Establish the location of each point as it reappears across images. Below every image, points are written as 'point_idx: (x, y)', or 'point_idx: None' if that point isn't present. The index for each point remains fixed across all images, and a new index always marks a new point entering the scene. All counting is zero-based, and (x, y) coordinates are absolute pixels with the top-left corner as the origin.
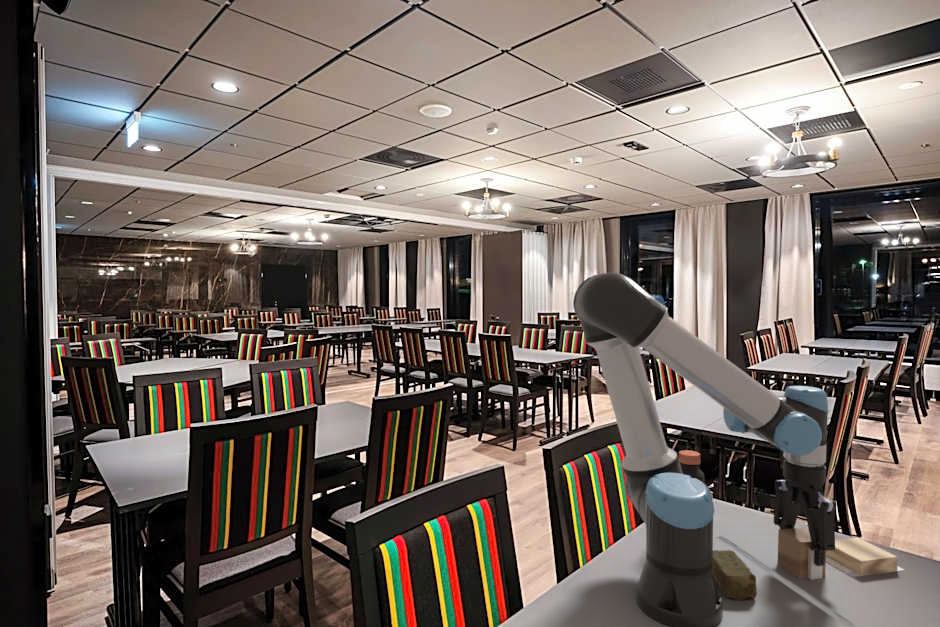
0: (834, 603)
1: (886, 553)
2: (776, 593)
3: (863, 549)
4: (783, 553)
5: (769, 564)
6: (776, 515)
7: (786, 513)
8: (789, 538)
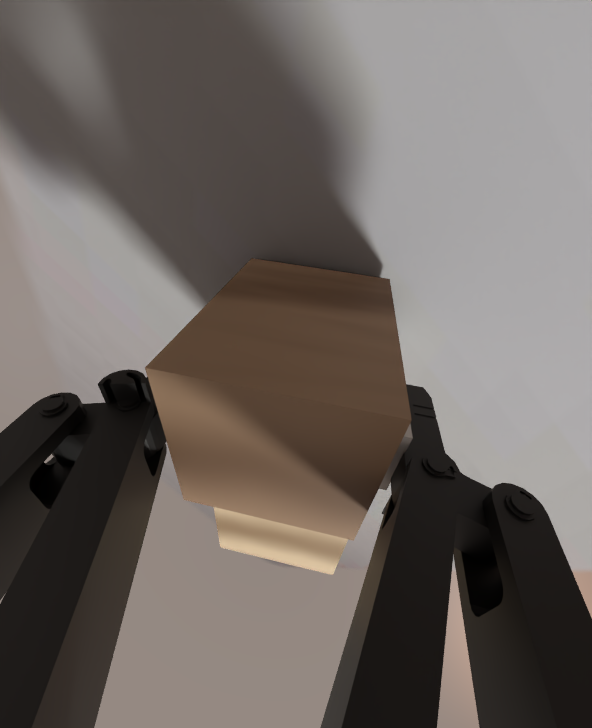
0: (110, 250)
1: (239, 547)
2: (186, 5)
3: (272, 537)
4: (347, 310)
5: (436, 273)
6: (540, 582)
7: (404, 652)
8: (278, 377)
